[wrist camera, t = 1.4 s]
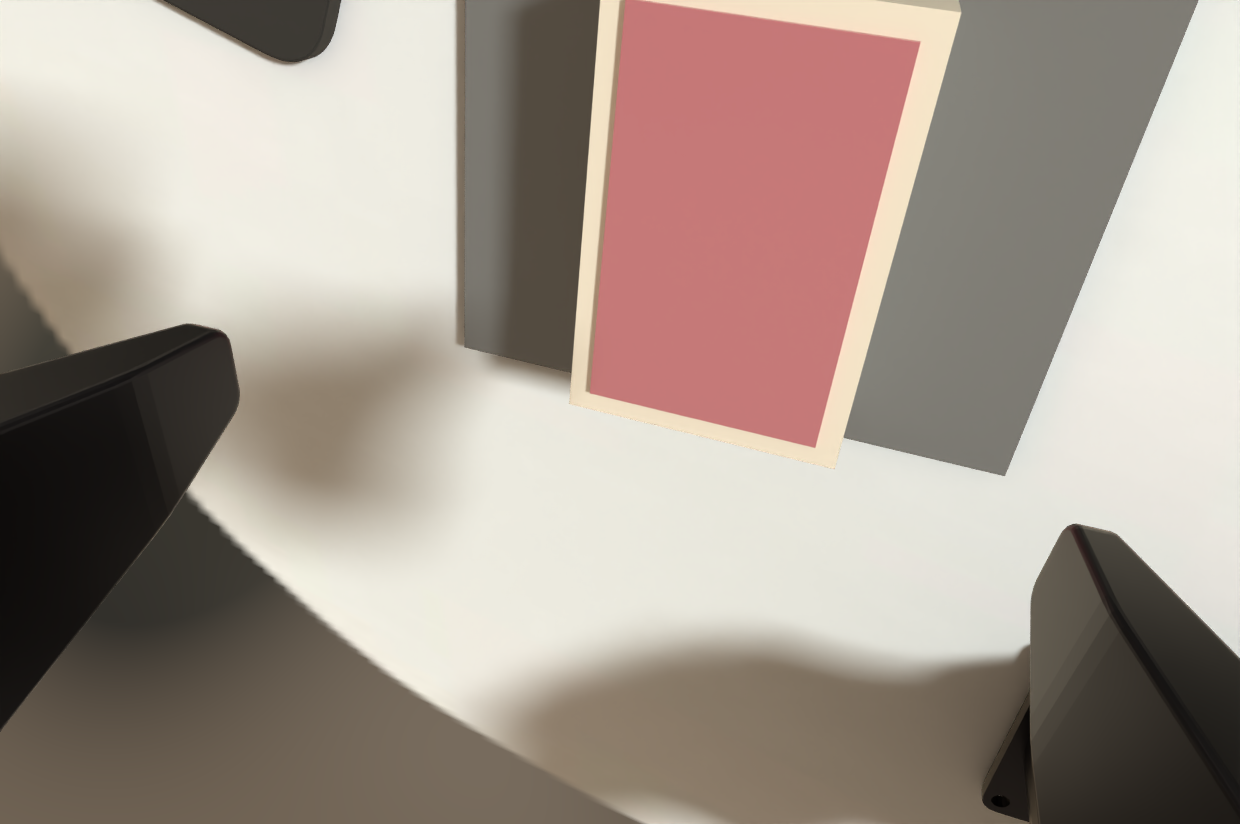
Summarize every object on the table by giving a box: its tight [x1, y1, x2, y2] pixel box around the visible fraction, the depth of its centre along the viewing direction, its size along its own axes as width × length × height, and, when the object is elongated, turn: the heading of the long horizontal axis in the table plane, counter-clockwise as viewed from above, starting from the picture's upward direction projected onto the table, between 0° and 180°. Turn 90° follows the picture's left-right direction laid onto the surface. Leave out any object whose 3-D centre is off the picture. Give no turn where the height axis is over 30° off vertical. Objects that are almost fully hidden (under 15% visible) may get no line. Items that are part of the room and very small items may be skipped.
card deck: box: [569, 0, 961, 469], centre depth 18 cm, size 9×6×3 cm, turn 174°
